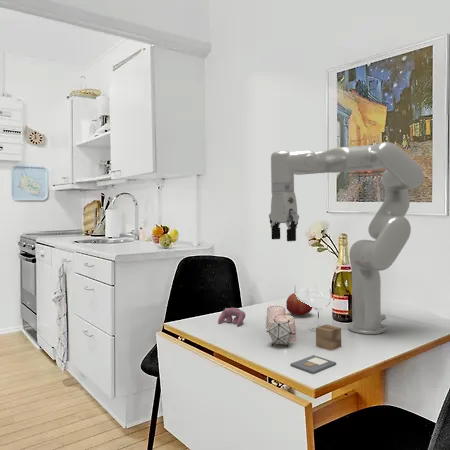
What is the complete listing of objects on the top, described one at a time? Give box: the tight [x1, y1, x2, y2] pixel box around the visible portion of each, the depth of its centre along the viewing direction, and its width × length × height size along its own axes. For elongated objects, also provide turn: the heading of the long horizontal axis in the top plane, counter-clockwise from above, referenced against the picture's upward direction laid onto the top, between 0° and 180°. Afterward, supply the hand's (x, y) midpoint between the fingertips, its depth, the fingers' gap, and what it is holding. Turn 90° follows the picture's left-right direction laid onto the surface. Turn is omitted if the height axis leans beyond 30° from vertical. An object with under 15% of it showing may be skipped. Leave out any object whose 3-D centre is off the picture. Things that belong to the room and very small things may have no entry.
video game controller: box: [217, 307, 246, 327], centre depth 165 cm, size 10×5×7 cm, turn 58°
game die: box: [266, 318, 296, 348], centre depth 138 cm, size 9×8×10 cm
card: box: [289, 354, 337, 375], centre depth 121 cm, size 10×8×1 cm
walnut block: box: [315, 324, 342, 351], centre depth 136 cm, size 6×6×6 cm
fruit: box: [285, 292, 313, 316], centre depth 174 cm, size 11×10×10 cm
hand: (283, 240), depth 146 cm, fingers open, 9 cm apart
